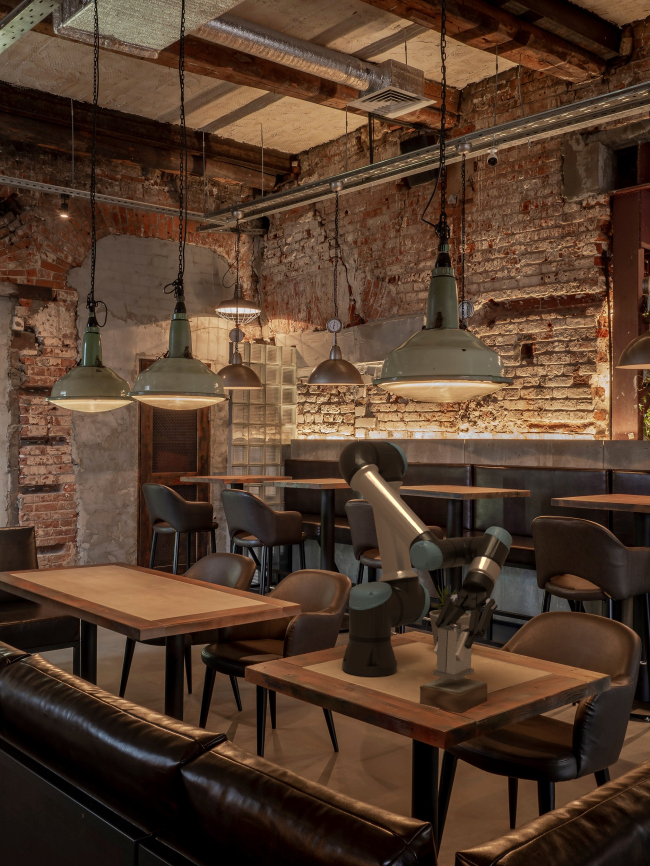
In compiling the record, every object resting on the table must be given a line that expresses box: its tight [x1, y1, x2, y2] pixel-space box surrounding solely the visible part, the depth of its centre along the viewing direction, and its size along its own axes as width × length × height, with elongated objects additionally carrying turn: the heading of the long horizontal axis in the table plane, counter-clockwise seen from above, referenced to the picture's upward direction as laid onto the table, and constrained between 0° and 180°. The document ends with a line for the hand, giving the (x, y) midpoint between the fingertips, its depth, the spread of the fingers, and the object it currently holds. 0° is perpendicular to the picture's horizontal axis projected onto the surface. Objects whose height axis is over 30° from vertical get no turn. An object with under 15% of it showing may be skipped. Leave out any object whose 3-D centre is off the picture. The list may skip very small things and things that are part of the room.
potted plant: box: [429, 585, 471, 648], centre depth 244 cm, size 13×14×20 cm
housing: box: [432, 623, 475, 680], centre depth 192 cm, size 6×9×12 cm
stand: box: [419, 677, 488, 714], centre depth 193 cm, size 11×13×4 cm
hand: (447, 656), depth 190 cm, fingers closed on housing, 5 cm apart
